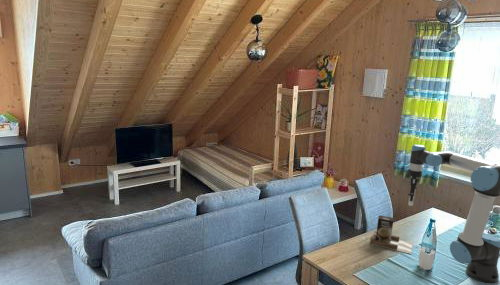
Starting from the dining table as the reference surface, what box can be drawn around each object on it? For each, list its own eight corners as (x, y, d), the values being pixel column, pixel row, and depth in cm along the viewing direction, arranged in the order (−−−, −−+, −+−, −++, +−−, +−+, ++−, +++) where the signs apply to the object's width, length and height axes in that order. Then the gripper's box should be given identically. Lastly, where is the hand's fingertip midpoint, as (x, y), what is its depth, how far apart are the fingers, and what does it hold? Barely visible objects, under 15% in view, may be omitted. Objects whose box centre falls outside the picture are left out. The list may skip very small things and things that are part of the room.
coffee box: (375, 242, 234) (377, 218, 231) (375, 237, 240) (378, 214, 236) (390, 245, 231) (393, 221, 227) (390, 240, 236) (393, 217, 233)
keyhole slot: (410, 254, 221) (411, 249, 220) (370, 244, 231) (370, 240, 230) (412, 243, 235) (413, 239, 234) (374, 234, 245) (374, 230, 245)
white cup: (435, 270, 205) (438, 253, 203) (423, 271, 204) (425, 254, 201) (427, 262, 212) (429, 246, 210) (414, 263, 211) (416, 247, 209)
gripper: (421, 175, 215) (416, 210, 219) (422, 165, 237) (418, 197, 241) (407, 173, 218) (403, 207, 223) (410, 164, 240) (406, 194, 244)
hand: (411, 202), depth 232 cm, fingers open, 13 cm apart
